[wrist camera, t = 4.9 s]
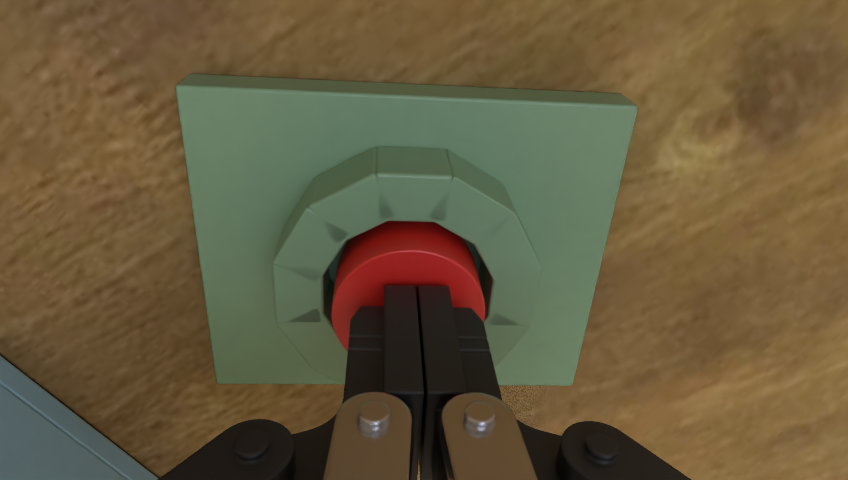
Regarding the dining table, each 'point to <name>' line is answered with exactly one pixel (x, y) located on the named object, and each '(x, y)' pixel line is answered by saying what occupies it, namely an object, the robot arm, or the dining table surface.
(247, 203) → the green button base
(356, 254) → the button
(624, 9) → the dining table surface
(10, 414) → the box
